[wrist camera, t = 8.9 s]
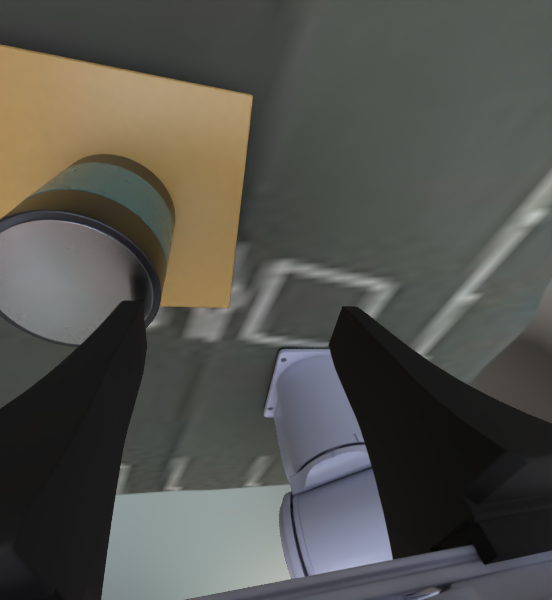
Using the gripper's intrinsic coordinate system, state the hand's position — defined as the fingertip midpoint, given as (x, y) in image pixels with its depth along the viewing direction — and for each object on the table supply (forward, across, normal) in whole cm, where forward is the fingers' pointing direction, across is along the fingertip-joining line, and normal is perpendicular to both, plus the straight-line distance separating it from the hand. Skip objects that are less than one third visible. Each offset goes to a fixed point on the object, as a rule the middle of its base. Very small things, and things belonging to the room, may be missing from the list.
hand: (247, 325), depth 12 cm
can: (+8, +6, -1) cm, 10 cm away
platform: (+10, +6, -1) cm, 12 cm away
